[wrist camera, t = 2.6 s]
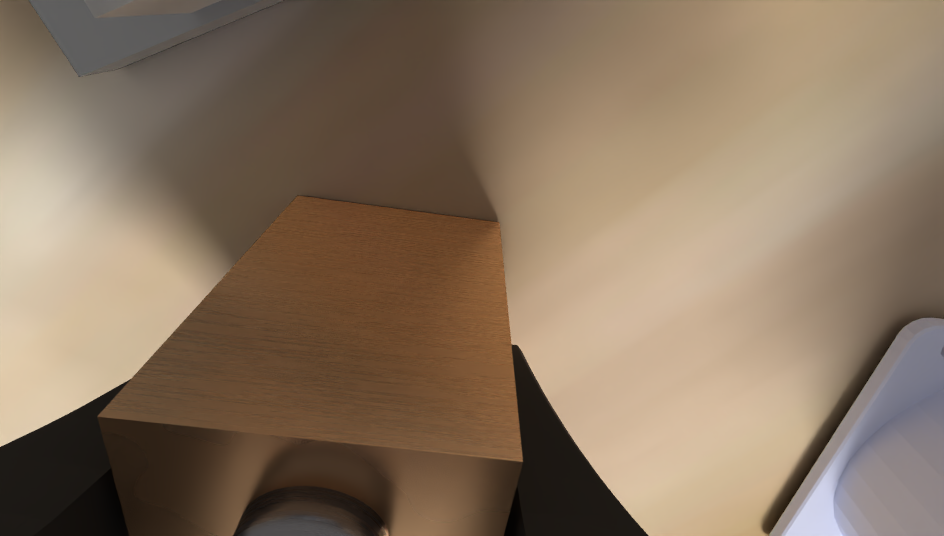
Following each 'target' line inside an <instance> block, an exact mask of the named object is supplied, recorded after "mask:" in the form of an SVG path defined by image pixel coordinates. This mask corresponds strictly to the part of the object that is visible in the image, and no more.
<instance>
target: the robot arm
mask: <svg viewBox="0 0 944 536" xmlns="http://www.w3.org/2000/svg"><path fill="white" fill-rule="evenodd" d="M511 346H512V356H513V366H514V376H515V386H516V396H517V406H518V416H519V427H520V437H521V447H522V457H523V464H522V468H521V472H520V475H519V479H518V483H517V487H516V491H515V494H514V498H513V502H512V506H511V510H510V513H509V517H508V521H507V525H506V528H505V532H504V536H648V535H647V534H646V532H645V531H644V530H643V529H642V528H641V527H640V526H639V525H638V523H637V522H636V521H635V520H634V519H633V518H632V517H631V515H630V514H629V513H628V512H627V511H626V509H625V508H624V507H623V506H622V505H621V503H620V502H619V501H618V500H617V498H616V497H615V496H614V495H613V494H612V492H611V491H610V490H609V489H608V487H607V486H606V485H605V483H604V482H603V481H602V479H601V478H600V477H599V475H598V474H597V473H596V472H595V470H594V469H593V467H592V466H591V465H590V463H589V462H588V460H587V459H586V458H585V456H584V455H583V453H582V452H581V451H580V449H579V448H578V446H577V445H576V443H575V442H574V440H573V439H572V437H571V436H570V434H569V433H568V431H567V430H566V428H565V427H564V425H563V424H562V422H561V420H560V419H559V417H558V416H557V414H556V412H555V411H554V409H553V408H552V406H551V404H550V403H549V401H548V399H547V398H546V396H545V394H544V392H543V391H542V389H541V387H540V385H539V383H538V382H537V380H536V378H535V376H534V374H533V372H532V371H531V369H530V367H529V365H528V363H527V361H526V359H525V357H524V355H523V353H522V351H521V350H520V348H519V347H518V346H517V345H511ZM130 380H131V379H130ZM130 380H128V381H127V382H125V383H123V384H121V385H120V386H118V387H116V388H114V389H112V390H111V391H109V392H107V393H105V394H104V395H102V396H100V397H98V398H96V399H95V400H93V401H91V402H89V403H88V404H86V405H84V406H82V407H80V408H79V409H77V410H75V411H73V412H71V413H69V414H67V415H65V416H63V417H61V418H59V419H57V420H55V421H53V422H51V423H49V424H47V425H45V426H43V427H41V428H39V429H37V430H35V431H33V432H31V433H29V434H27V435H25V436H22V437H20V438H18V439H16V440H14V441H12V442H10V443H8V444H6V445H4V446H1V447H0V536H129V533H128V530H127V526H126V522H125V518H124V515H123V511H122V507H121V503H120V500H119V496H118V492H117V489H116V485H115V481H114V477H113V474H112V470H111V466H110V462H109V459H108V455H107V451H106V447H105V444H104V440H103V436H102V432H101V429H100V425H99V421H98V417H97V416H98V415H99V414H100V413H101V412H102V411H103V410H104V408H105V407H106V406H107V405H108V404H109V403H110V402H111V401H112V400H113V399H114V397H115V396H116V395H117V394H118V393H119V392H120V391H121V390H122V389H123V388H124V386H125V385H126V384H127V383H128V382H129V381H130ZM769 536H944V319H940V318H921V319H918V320H915V321H912V322H911V323H909V324H907V325H906V326H904V327H903V329H902V330H901V331H900V332H899V333H898V335H897V336H896V338H895V339H894V341H893V342H892V344H891V346H890V347H889V349H888V350H887V352H886V353H885V355H884V356H883V358H882V360H881V361H880V363H879V364H878V366H877V367H876V369H875V370H874V372H873V374H872V375H871V377H870V378H869V380H868V381H867V383H866V385H865V386H864V388H863V389H862V391H861V392H860V394H859V395H858V397H857V399H856V400H855V402H854V403H853V405H852V406H851V408H850V410H849V411H848V413H847V414H846V416H845V417H844V419H843V420H842V422H841V424H840V425H839V427H838V428H837V430H836V431H835V433H834V435H833V436H832V438H831V439H830V441H829V442H828V444H827V445H826V447H825V449H824V450H823V452H822V453H821V455H820V456H819V458H818V459H817V461H816V463H815V464H814V466H813V467H812V469H811V470H810V472H809V474H808V475H807V477H806V478H805V480H804V481H803V483H802V484H801V486H800V488H799V489H798V491H797V492H796V494H795V495H794V497H793V499H792V500H791V502H790V503H789V505H788V506H787V508H786V509H785V511H784V513H783V514H782V516H781V517H780V519H779V520H778V522H777V523H776V525H775V527H774V528H773V530H772V531H771V533H770V534H769Z"/></svg>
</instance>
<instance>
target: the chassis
mask: <svg viewBox="0 0 944 536" xmlns="http://www.w3.org/2000/svg"><path fill="white" fill-rule="evenodd" d="M282 1H284V0H29V2H30V3H31V5H32V6H33V8H34V9H35V11H36V12H37V14H38V15H39V17H40V18H41V20H42V21H43V23H44V24H45V26H46V27H47V29H48V30H49V32H50V33H51V35H52V36H53V38H54V39H55V41H56V42H57V44H58V45H59V47H60V49H61V50H62V52H63V53H64V55H65V56H66V58H67V59H68V61H69V62H70V64H71V65H72V67H73V68H74V70H75V71H76V73H77V74H78V76H79V77H81V76H86V75H91V74H96V73H101V72H106V71H111V70H116V69H120V68H122V67H124V66H127V65H129V64H132V63H134V62H136V61H139V60H141V59H144V58H146V57H149V56H151V55H153V54H156V53H158V52H161V51H163V50H165V49H168V48H170V47H173V46H175V45H178V44H180V43H182V42H185V41H187V40H190V39H192V38H195V37H197V36H199V35H202V34H204V33H207V32H209V31H211V30H214V29H216V28H219V27H221V26H224V25H226V24H228V23H231V22H233V21H236V20H238V19H240V18H243V17H245V16H248V15H250V14H253V13H255V12H257V11H260V10H262V9H265V8H267V7H269V6H272V5H274V4H277V3H279V2H282Z"/></svg>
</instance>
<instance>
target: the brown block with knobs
mask: <svg viewBox="0 0 944 536" xmlns="http://www.w3.org/2000/svg"><path fill="white" fill-rule="evenodd" d="M97 417H98V421H99V425H100V429H101V432H102V436H103V440H104V444H105V447H106V451H107V455H108V459H109V462H110V466H111V470H112V474H113V477H114V481H115V485H116V489H117V492H118V496H119V500H120V503H121V507H122V511H123V515H124V518H125V522H126V526H127V530H128V533H129V536H504V532H505V528H506V525H507V521H508V517H509V513H510V510H511V506H512V502H513V498H514V494H515V491H516V487H517V483H518V479H519V475H520V472H521V468H522V464H523V457H522V447H521V437H520V427H519V416H518V406H517V396H516V386H515V376H514V366H513V356H512V346H511V336H510V326H509V316H508V305H507V295H506V285H505V275H504V265H503V255H502V245H501V235H500V225H499V222H492V221H485V220H477V219H470V218H462V217H455V216H447V215H440V214H432V213H425V212H417V211H410V210H403V209H395V208H388V207H380V206H373V205H365V204H358V203H350V202H343V201H335V200H328V199H320V198H313V197H305V196H297V197H296V198H295V199H294V200H293V201H292V202H291V203H290V205H289V206H288V207H287V208H286V209H285V210H284V211H283V212H282V213H281V214H280V216H279V217H278V218H277V219H276V220H275V221H274V222H273V223H272V224H271V225H270V227H269V228H268V229H267V230H266V231H265V232H264V233H263V234H262V235H261V237H260V238H259V239H258V240H257V241H256V242H255V243H254V244H253V245H252V246H251V248H250V249H249V250H248V251H247V252H246V253H245V254H244V255H243V256H242V257H241V259H240V260H239V261H238V262H237V263H236V264H235V265H234V266H233V267H232V268H231V270H230V271H229V272H228V273H227V274H226V275H225V276H224V277H223V278H222V280H221V281H220V282H219V283H218V284H217V285H216V286H215V287H214V288H213V289H212V291H211V292H210V293H209V294H208V295H207V296H206V297H205V298H204V299H203V300H202V302H201V303H200V304H199V305H198V306H197V307H196V308H195V309H194V310H193V311H192V313H191V314H190V315H189V316H188V317H187V318H186V319H185V320H184V321H183V323H182V324H181V325H180V326H179V327H178V328H177V329H176V330H175V331H174V332H173V334H172V335H171V336H170V337H169V338H168V339H167V340H166V341H165V342H164V343H163V345H162V346H161V347H160V348H159V349H158V350H157V351H156V352H155V353H154V354H153V356H152V357H151V358H150V359H149V360H148V361H147V362H146V363H145V364H144V365H143V367H142V368H141V369H140V370H139V371H138V372H137V373H136V374H135V375H134V377H133V378H132V379H131V380H130V381H129V382H128V383H127V384H126V385H125V386H124V388H123V389H122V390H121V391H120V392H119V393H118V394H117V395H116V396H115V397H114V399H113V400H112V401H111V402H110V403H109V404H108V405H107V406H106V407H105V408H104V410H103V411H102V412H101V413H100V414H99V415H98V416H97Z"/></svg>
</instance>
